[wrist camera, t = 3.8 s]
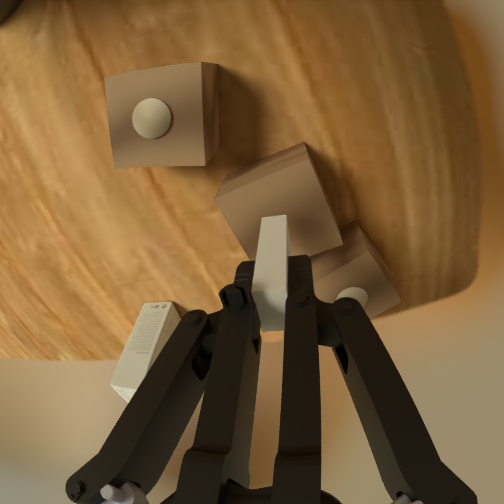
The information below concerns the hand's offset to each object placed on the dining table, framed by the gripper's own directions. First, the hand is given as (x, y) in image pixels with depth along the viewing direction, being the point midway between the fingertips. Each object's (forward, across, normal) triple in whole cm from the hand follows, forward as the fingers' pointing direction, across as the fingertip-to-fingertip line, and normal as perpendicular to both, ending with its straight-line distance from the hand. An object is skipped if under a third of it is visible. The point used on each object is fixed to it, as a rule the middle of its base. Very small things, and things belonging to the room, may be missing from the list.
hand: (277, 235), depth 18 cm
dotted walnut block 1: (+8, -7, +8) cm, 13 cm away
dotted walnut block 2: (+7, +5, -8) cm, 12 cm away
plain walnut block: (+7, 0, 0) cm, 7 cm away
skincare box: (+7, -16, -14) cm, 23 cm away
